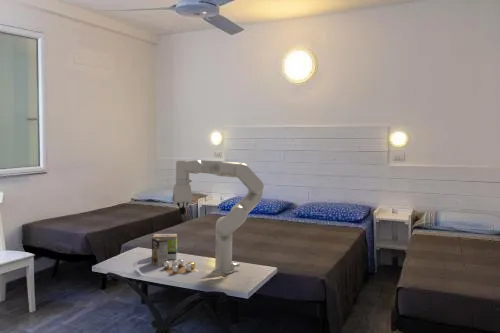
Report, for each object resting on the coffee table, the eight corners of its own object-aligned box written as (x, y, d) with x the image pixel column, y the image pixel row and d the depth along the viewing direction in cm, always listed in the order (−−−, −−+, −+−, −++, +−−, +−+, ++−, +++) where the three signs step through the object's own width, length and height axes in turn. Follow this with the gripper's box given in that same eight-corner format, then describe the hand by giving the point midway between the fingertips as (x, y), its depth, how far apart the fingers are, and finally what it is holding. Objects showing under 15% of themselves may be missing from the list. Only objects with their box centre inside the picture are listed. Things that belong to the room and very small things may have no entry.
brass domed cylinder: (193, 266, 250) (193, 261, 250) (196, 268, 246) (196, 263, 246) (186, 267, 248) (186, 262, 248) (188, 269, 244) (188, 264, 244)
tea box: (177, 255, 279) (177, 233, 278) (175, 259, 268) (176, 236, 268) (154, 255, 277) (154, 233, 277) (151, 260, 267) (151, 236, 267)
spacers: (183, 265, 252) (183, 258, 252) (191, 272, 240) (191, 264, 240) (162, 268, 246) (162, 261, 246) (170, 274, 234) (170, 267, 234)
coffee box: (151, 264, 257) (151, 238, 256) (161, 263, 261) (161, 237, 260) (158, 268, 250) (158, 241, 249) (168, 266, 254) (168, 239, 253)
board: (190, 266, 255) (190, 264, 255) (199, 273, 241) (199, 271, 241) (162, 269, 247) (162, 267, 247) (170, 277, 233) (170, 275, 233)
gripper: (192, 181, 248) (192, 212, 249) (167, 181, 241) (167, 214, 242) (197, 182, 242) (196, 214, 243) (171, 183, 235) (171, 216, 236)
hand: (182, 214), depth 243 cm, fingers closed
